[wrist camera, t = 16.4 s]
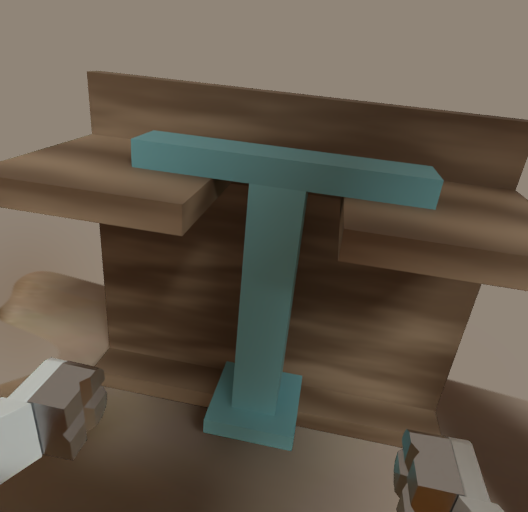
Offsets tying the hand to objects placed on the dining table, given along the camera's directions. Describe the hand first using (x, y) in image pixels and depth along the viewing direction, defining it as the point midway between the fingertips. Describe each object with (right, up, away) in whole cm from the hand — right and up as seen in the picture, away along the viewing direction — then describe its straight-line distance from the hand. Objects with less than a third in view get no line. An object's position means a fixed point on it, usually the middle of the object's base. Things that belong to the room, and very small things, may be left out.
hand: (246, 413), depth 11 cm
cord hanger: (0, -7, +20) cm, 21 cm away
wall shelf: (0, -10, +21) cm, 23 cm away
